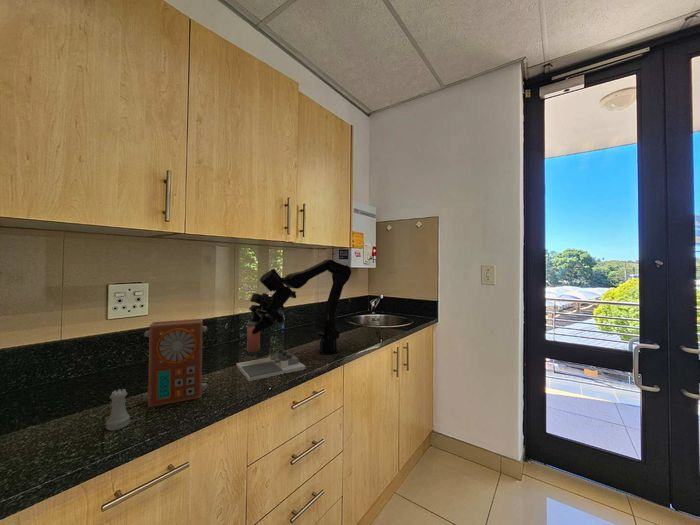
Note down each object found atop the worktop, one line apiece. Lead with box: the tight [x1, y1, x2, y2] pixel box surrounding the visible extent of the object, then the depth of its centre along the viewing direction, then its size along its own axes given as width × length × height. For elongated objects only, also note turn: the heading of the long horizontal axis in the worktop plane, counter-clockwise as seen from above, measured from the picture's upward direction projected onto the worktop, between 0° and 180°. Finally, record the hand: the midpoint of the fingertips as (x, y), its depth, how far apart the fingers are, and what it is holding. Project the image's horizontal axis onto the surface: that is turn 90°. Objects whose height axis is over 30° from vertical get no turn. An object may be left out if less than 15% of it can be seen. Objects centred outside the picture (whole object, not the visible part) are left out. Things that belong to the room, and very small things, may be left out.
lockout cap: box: [246, 321, 261, 353], centre depth 104 cm, size 4×4×10 cm
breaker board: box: [235, 348, 306, 382], centre depth 106 cm, size 20×17×5 cm
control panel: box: [142, 318, 208, 408], centre depth 81 cm, size 21×7×15 cm
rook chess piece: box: [105, 388, 131, 432], centre depth 66 cm, size 4×4×8 cm
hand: (250, 332), depth 104 cm, fingers closed on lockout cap, 4 cm apart
